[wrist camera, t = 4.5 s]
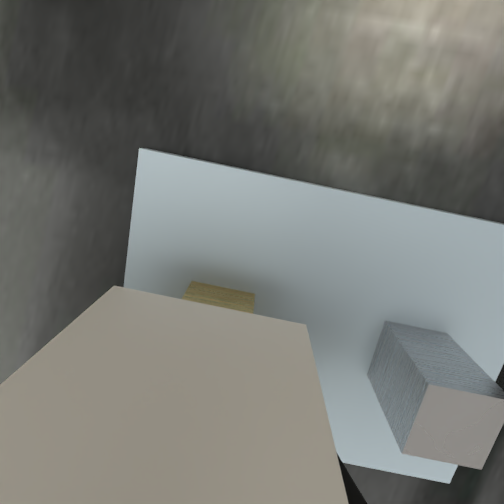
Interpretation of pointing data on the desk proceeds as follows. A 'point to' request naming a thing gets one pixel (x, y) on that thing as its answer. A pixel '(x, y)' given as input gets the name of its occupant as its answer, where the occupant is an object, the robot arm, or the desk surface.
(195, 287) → the yellow wooden block
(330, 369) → the post board
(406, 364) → the steel post
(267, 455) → the cream rectangular block
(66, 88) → the desk surface
